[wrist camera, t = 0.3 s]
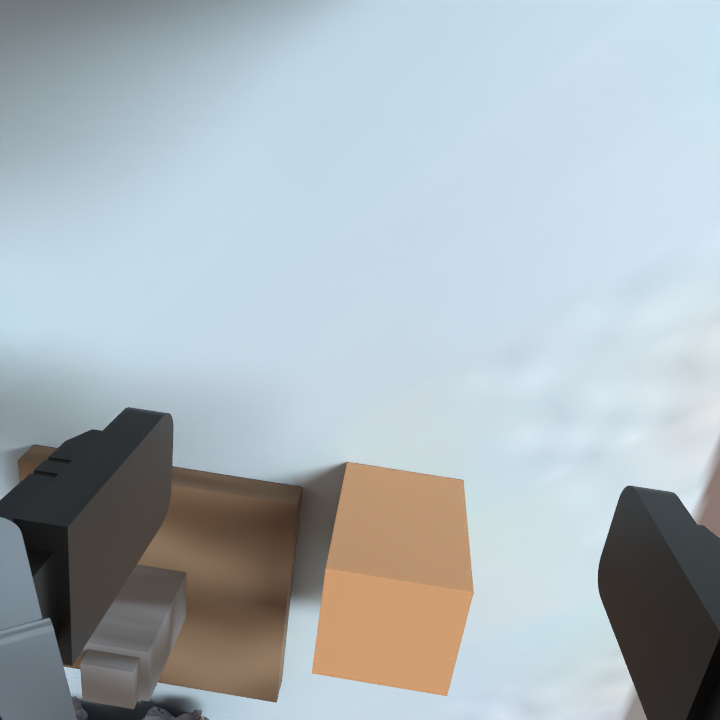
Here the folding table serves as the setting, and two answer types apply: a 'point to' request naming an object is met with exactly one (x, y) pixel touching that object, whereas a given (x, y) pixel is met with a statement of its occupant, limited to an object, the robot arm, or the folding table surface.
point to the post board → (199, 594)
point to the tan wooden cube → (395, 581)
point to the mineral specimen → (155, 716)
